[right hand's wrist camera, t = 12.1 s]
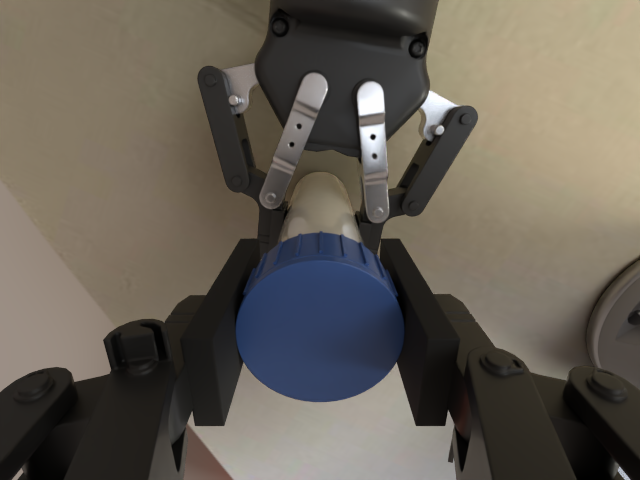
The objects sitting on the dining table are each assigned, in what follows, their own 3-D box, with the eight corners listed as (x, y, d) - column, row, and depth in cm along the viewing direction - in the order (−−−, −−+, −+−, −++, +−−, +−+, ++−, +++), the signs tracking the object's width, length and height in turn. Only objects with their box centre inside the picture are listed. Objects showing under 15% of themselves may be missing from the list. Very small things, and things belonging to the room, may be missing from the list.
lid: (355, 203, 11) (364, 226, 9) (414, 325, 13) (433, 369, 10) (220, 268, 12) (198, 303, 10) (291, 374, 13) (285, 425, 11)
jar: (332, 161, 25) (352, 245, 10) (356, 210, 26) (407, 353, 11) (282, 186, 25) (227, 303, 10) (308, 233, 27) (292, 397, 12)
